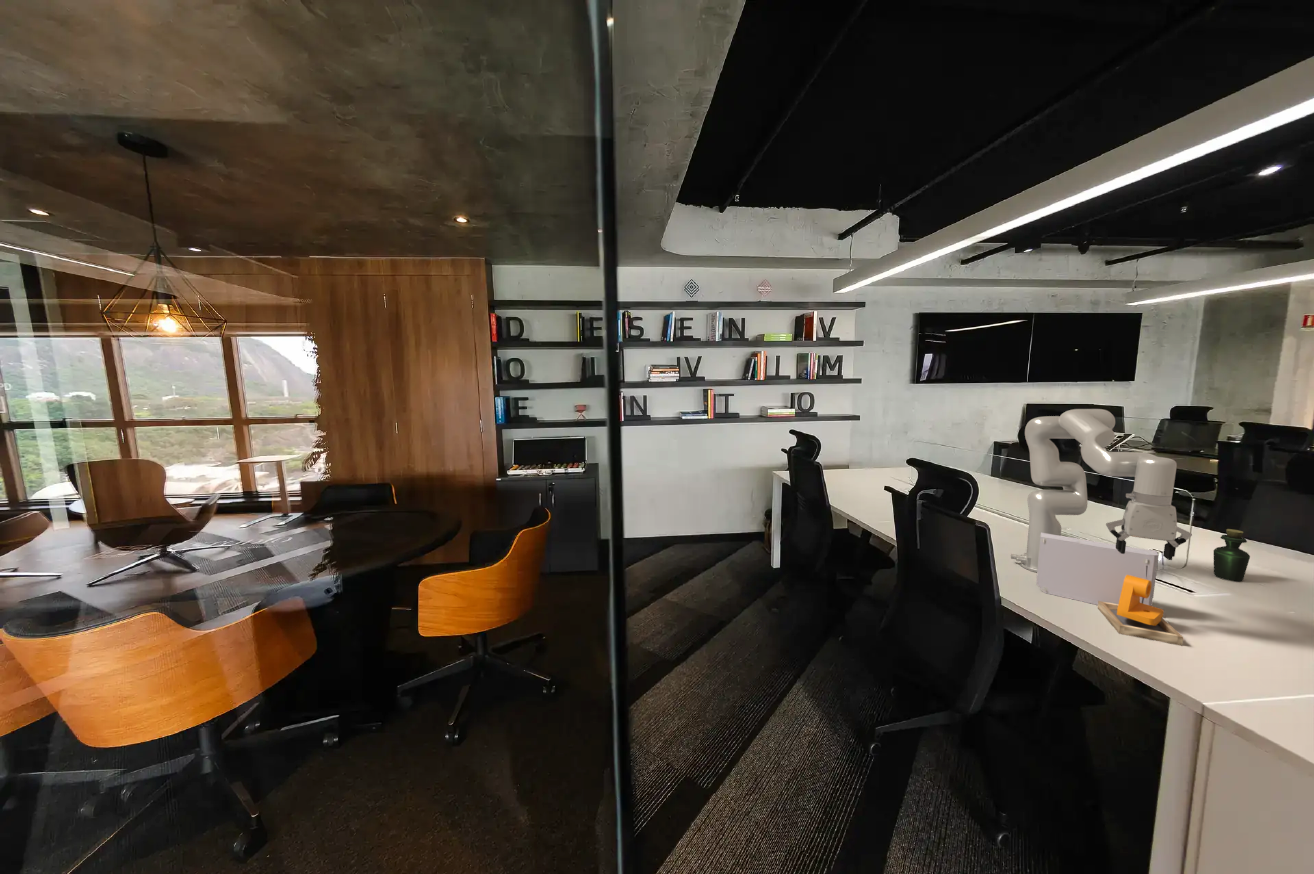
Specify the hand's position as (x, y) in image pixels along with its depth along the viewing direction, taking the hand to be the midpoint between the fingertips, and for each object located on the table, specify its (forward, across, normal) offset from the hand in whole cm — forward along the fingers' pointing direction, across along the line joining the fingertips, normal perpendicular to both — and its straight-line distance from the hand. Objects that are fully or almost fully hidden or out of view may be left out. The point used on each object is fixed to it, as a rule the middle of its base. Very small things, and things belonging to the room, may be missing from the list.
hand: (1143, 555), depth 128 cm
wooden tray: (+22, 0, -2) cm, 22 cm away
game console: (+22, -7, +12) cm, 26 cm away
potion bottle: (+23, +43, +59) cm, 76 cm away
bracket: (+19, +1, -1) cm, 19 cm away
